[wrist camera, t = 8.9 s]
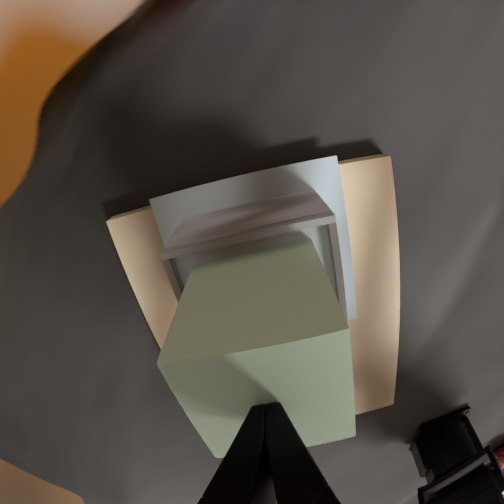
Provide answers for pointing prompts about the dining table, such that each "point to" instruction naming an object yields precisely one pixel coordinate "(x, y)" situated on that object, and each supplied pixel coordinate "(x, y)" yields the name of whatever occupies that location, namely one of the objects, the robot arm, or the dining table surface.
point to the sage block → (261, 346)
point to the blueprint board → (367, 265)
